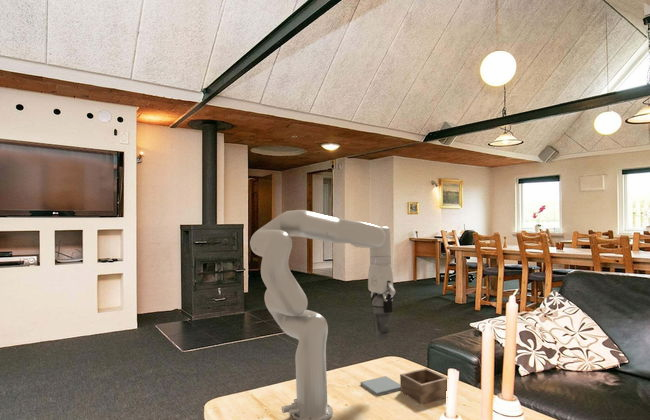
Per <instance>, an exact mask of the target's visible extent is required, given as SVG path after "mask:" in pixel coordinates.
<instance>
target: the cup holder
mask: <svg viewBox="0 0 650 420" xmlns="http://www.w3.org/2000/svg"><path fill="white" fill-rule="evenodd" d="M447 378H448V377H446V376H444V375H442V374H440V373H437V372H436V371H433V370H431V369H429V368H427V367H426V368H421V369H417V370H412V371H408V372H405V373H400V374H399V379H400V381H399V384H400V385H401V390H400V392H401V393H402V394H403V395H405V396H407V397H409V398H410V399H412V400H413V401H414V402H418V403H419V404H421V405H425V404H429V403H433V402H436V401H440V400H443V399H446V391H447Z"/></svg>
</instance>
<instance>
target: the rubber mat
mask: <svg viewBox="0 0 650 420" xmlns="http://www.w3.org/2000/svg"><path fill="white" fill-rule="evenodd" d="M360 386H362V387H363V388H365V389H366V390H368V391H369V392H370V393H372V394H374V395H375V396H377V397H378V396H382V395H387V394H390V393H394V392H399V391H401V384H400V382H399V383H398V382H397V381H395V380H393V379H391V378H390V377H388V376H386V375H385V376H381V377H376V378H372V379H368V380H364V381H360Z"/></svg>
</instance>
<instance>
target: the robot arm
mask: <svg viewBox="0 0 650 420" xmlns="http://www.w3.org/2000/svg"><path fill="white" fill-rule="evenodd" d="M292 237H299V238H300V237H301V238H305V239H310V240H315V241H321V242H326V243H332V244H350V245H351V246H353V247H355V248H360V249H361V248H364V249H369V266H368V278H367V289H368V290H369V291H368V292H369V293H370V298H371V299H370V300H371V303H372V301H373V298H374V297H375V296H376V295H378V294H383V297H384V300H385V301H383V304H384V313H390V312H391V313H393V301H394V297H395V294H396V289H395V288H394V280H393V279H394V278H393V271H392V270H393V269H392V251H391V250H392V247H391V243H392V242H391V229H390V226H389V227H388V226H384V225H383V226H382V225H381V226H379V225H375V224H371V223H367V222H364V221H358V220H353V219H346V218H343V217H336V216H331V215H327V214H326V215H325V214H322V213H319V212H315V211H312V210H311V211H310V210H306V209H294V210H286V211H284V212H282V213H280V214H279V215H278V216H276V217H274V218H273V219H272V220H270V221H269V222H267V223H266V224H264V225H263V226H262V227H260V228H258V229H257V230H256V231H255V232H254V233H253V234H252V236H251V238H250V241H249V245H250V249H251V251H252V252H253V253H254V254H255V255H257V256H259V257H261V264H260V275H261V279H262V282H263V283H264V286H265V287H266V290H265V292H264V296H263V297H264V303H265V306H266V309H267V310H268V312H269V313H270V315H271V316H272V318H273V319H274V321H275V322H276V323H277V325H278V326H279V327H280V329H281V331H282V332H283V333H285V334H286V335H287V336H289V337H291V338H293V339H296V340H298V343H297V344H298V345H297V347H296V350H295V357H294V359H295V362H294V363H295V386H296V390H295V391H296V398H295V399H294V398H293V402H292V403H291V404H287V405H282V406H281V412H282V414H286V413H288V415H291V416H292V418H293V419H294V420H329V419H330V418H331V417H332V416H333V412H334V411H333V407H332V406H331V405H330V404H329V403H328V385H327V384H328V381H327V375H328V374H327V353H326V351H327V340H328V334H329V325H328V322H327V319H326V318H325V317H324V316H323V315H321V314H320V313H318V312H316V311H313V310H309V309H308V303H309V301H308V297H307V295H306V293H305V292H304V290H303V288H302V287H301V286H300V284H299V283H298V281H297V279H296V278H295V276H294V275H293V273H292V272H291V271H292V270H291V269H290V266H289V258H290V256H291V251H292V249H293V239H292ZM386 295H387V296H386Z"/></svg>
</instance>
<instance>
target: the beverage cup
mask: <svg viewBox="0 0 650 420" xmlns="http://www.w3.org/2000/svg"><path fill="white" fill-rule="evenodd" d="M386 296H388V295H386ZM383 301H385V300H384V297H383V294H378V295H376V296H375V297H374V298H373V301H372V302H371V309H372V312H373V322H374V331H375V338H376V339H377V340H381V341H385V340H389V339H390V331H391V330H390V329H391V328H390V327H391V313H392V312H390V313H384V304H383Z"/></svg>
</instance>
